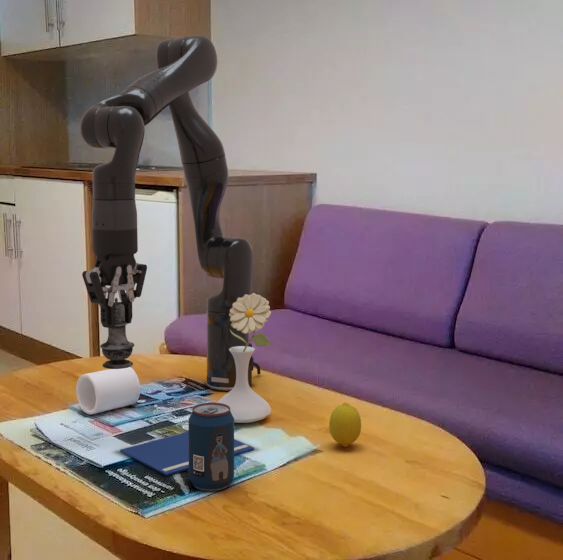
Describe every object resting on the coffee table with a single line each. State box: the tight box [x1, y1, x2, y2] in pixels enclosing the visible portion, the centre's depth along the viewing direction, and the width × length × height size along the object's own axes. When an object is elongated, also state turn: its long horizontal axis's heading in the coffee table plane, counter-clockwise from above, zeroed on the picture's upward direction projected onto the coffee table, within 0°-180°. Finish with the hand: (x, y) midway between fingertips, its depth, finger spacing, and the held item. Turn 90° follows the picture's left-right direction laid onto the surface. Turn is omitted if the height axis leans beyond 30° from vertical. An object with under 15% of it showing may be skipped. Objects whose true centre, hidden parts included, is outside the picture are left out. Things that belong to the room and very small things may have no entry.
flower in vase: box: [216, 292, 272, 424], centre depth 147 cm, size 13×11×25 cm
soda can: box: [188, 402, 235, 492], centre depth 118 cm, size 7×7×12 cm
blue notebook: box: [119, 431, 255, 477], centre depth 132 cm, size 18×14×1 cm
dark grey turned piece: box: [99, 297, 135, 369], centre depth 134 cm, size 6×6×12 cm
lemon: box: [328, 402, 362, 448], centre depth 134 cm, size 6×6×8 cm
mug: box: [75, 366, 141, 416], centre depth 155 cm, size 12×10×8 cm
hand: (117, 324), depth 134 cm, fingers closed on dark grey turned piece, 3 cm apart
